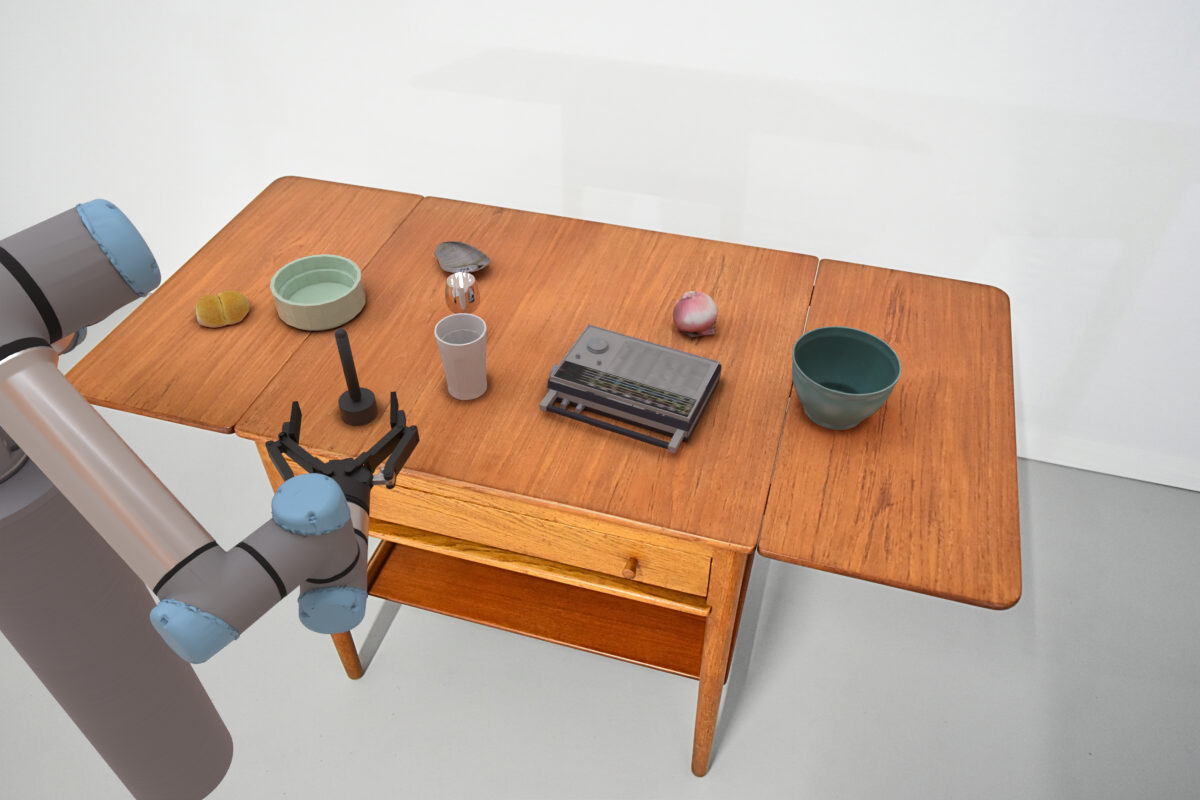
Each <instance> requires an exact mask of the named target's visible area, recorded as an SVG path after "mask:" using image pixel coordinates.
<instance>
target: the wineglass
mask: <svg viewBox="0 0 1200 800" xmlns="http://www.w3.org/2000/svg"><path fill="white" fill-rule="evenodd" d="M444 299H445V304H446V306H447V308H448V309H449V311H450V312H452V313H453V314H458V313H468V314H473V313H474V312H475V311H477V310H478V308H479V306H480V303H481V293H480V289H479V285H478V283H477V280H476V277H475V276H474V275H473V274H471V273H470V272H469V273H465V272H459V273H452V274H450V275H449V276H448V277H447V279H446V282H445V288H444Z"/></svg>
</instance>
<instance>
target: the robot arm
mask: <svg viewBox="0 0 1200 800" xmlns="http://www.w3.org/2000/svg"><path fill="white" fill-rule="evenodd" d="M160 269H161V268H160V267H159V264H158V262H157V260H156V258H155V256H154V253H153V252H152V250H151V249H150V247H149V245H148V243H147V242H146V240H145V238H144V237H143V236H142V234H141V233H140V231H139V230H138V229H137V227H136V226H135V225H134V224H133V222H132V220H130V218H129V216H127V215H126V214H125V213H124V212H123V211H122V209H120V208H119V207H118V206H117V205H115V204H114V203H113V202H111V201H109V200H107V199H104V198H95V199H92V200H90V201H87V202H83V203H80V202H79V203H77V204H76V205H75V206H74V207H72V208H69V209H67V210H65V211H62V212H60V213H58V214H56V215H54V216H51V217H49V218H47V219H45V220H42V221H40V222H38V223H36V224H33V225H31V226H29V227H27V228H24V229H22V230H20V231H18V232H16V233H13V234H11V235H9V236H7V237H4V238H2V239H0V484H2V483H3V482H5V481H7V480H8V479H10V478H11V477H12V476H14V475H15V474H16V473H17V472H18V471H19V470H20V469H21V468H22V467H23V466H24V465H25V464H26V463H27V461H28V460H29V458H30V459H31V460H32V461H33V462H34V463H35V464H36V465H37V466H38V467H39V468H40V470H41V471H42V472H43V473H44V474H45V475H46V476H47V477H48V478H49V479H50V480H51V482H52V483H53V484H54V485H55V486H56V487H57V488H58V489H59V490H60V491H61V492H62V494H63V495H64V496H65V497H66V498H67V499H68V500H69V501H70V502H71V503H72V504H73V506H74V507H75V508H76V509H77V510H78V511H79V512H80V513H81V514H82V515H83V516H84V518H85V519H86V520H87V521H88V522H89V523H90V524H91V525H92V526H93V527H94V528H95V530H96V531H97V532H98V533H99V534H100V535H101V536H102V537H103V538H104V539H105V540H106V542H107V543H108V544H109V545H110V546H111V547H112V548H113V549H114V550H115V551H116V552H117V554H118V555H119V556H120V557H121V558H122V559H123V560H124V561H125V562H126V563H127V564H128V566H129V567H130V568H131V569H132V570H133V571H134V572H135V573H136V574H137V575H138V576H139V577H140V579H141V580H142V581H143V582H144V583H145V585H146V587H147V588H148V589H149V590H150V591H151V592H152V593H153V594H154V595H155V596H156V597H157V599H158V601H159V602H157V606H156V607H155V608H153V609H152V611H151V613H150V620H151V623H152V625H153V626H154V628H155V629H156V631H157V632H158V633H159V634H160V635H161V636H162V638H163V639H164V641H165V642H166V643H167V644H168V645H169V646H170V648H171V649H172V650H173V651H174V652H175V653H176V654H178V655H179V656H180V657H181V658H182V659H184V660H185V661H187V662H189V663H190V664H191V665H192V664H193V665H199V664H200V665H201V664H203V663H206V662H207V661H208V660H210V659H211V658H212V657H215V656H216V654H218V653H219V652H221V651H222V650H223V649H224V648H226V647H227V646H228V645H230V644H231V643H232V642H233V641H237V640H238V639H239V638H240V637H241V635H242V634H244V632H246V631H247V630H248V629H249V628H250V627H252V625H254V624H255V623H256V622H257V621H258V620H260V619H261V618H262V617H263V616H264V615H266V614H267V613H268V612H269V611H271V609H272V608H274V607H275V606H276V605H277V604H278V603H280V602H281V601H283V599H284V598H286V597H288V595H290V594H291V593H292V592H293V591H294V590H296V589H297V588H298V587H299V595H298V597H297V601H296V602H297V603H298V619H299V622H300V623H301V624H302V626H304V627H305V629H307V630H309V631H311V632H314V633H318V634H321V635H334V634H335V635H336V634H342V633H347V632H350V631H352V630H354V629H355V628H356V627H358V626H359V625H360V624H361V623H362V621H363V620H364V618H365V615H366V609H367V601H368V598H369V592H368V564H369V563H368V559H369V558H368V557H369V534H370V513H371V511H370V510H371V491H372V489H373V488H374V486H385V488H386V489H387V490H393V489H395V487H396V485H397V479H398V478H397V477H398V475H400V472H401V471H402V469H403V468H404V466H405V464H406V463H407V461H408V460H409V459H410V457H411V455H412V453H413V452H414V450H415V449H416V447H418V444H419V443H420V442H421V441H420V433H419V427H418V425H415V424H412V425H410V426H407V417H406V412H405V410H404V409H400V408H399V407H400V406H399V405H400V404H399V400H398V395H397V390H394V391H390V396H389V398H390V400H389V402H390V403H389V404H390V405H389V406H390V407H389V425H390V430H389V431H387V432H386V433H385V434H384V435H383V437H381V438H380V439H379V440H378V441H377V442H376V443H375V444H373V445H372V446H371V447H370V448H369V449H368V450H367V451H362V452H361V453H360V454H359V455H358V456H356V458H354V457H353V456H352V457H346V458H343V459H336V458H334V459H329V460H328V461H327V462H324V461H322V460H321V459H320V458H319V457H318V456H313V455H312V454H311V453H309V451H308V450H306V449H305V448H304V447H302V446H301V445H300V436H301V426H302V418H303V412H302V410H301V406H300V403H299V400H294V401H292V404H291V410H290V417H289V421H284V422H282V426H281V431H280V432H279V433H278V434H277V437H278V439H277V440H275V441H274V440H271V439H270V440H267V441H266V442H265V443H264V446H265V449H266V452H267V454H268V457H269V459H270V461H271V462H272V464H273V466H274V467H275V469H276V471H277V472H278V474H279V475H280V477H281V479H282V480H283V483H281V484H280V485H279V486H278V488H277V490H276V492H275V493H274V495H273V496H272V498H271V502H270V503H271V504H270V505H271V518H270V519H269V520H267V521H265V522H264V523H263V524H262V525H261V526H259V527H258V528H257V529H255V530H254V531H252V532H251V533H250V534H249V535H248V536H246V537H245V538H243V539H242V540H241V541H239V542H238V543H237V544H236V545H234V546H233V547H231V548H229V550H227V551H226V550H225V549H224V548H223V547H222V546H221V545H220V544H219V543H218V542H217V541H216V539H215V538H214V537H213V536H212V534H210V532H208V530H206V529H205V527H204V526H203V525H202V524H201V523H200V522H199V520H198V519H197V518H196V517H195V516H194V515H193V514H192V513H191V512H190V510H189V509H187V508H186V506H185V505H184V504H183V503H182V502H181V501H180V500H179V499H178V498H177V496H175V494H174V493H173V492H172V491H171V490H170V489H169V488H168V487H167V485H166V484H164V483H163V481H162V480H161V479H160V478H159V477H158V476H157V475H156V473H154V471H153V470H152V469H151V467H149V466H148V465H147V464H146V463H145V462H144V461H143V460H142V459H141V458H140V456H139V455H138V454H137V453H136V452H135V451H134V450H133V448H131V446H130V445H128V444H127V442H126V441H125V440H124V439H123V438H122V436H121V435H120V434H119V433H117V431H116V430H115V429H114V428H113V427H112V426H111V424H109V423H108V422H107V421H106V419H105V418H104V417H103V416H102V415H101V414H100V413H99V411H98V410H96V408H94V406H93V405H92V404H91V403H90V402H89V401H88V400H87V399H86V397H84V395H83V394H82V393H81V392H80V391H79V390H78V389H77V388H76V387H75V386H74V385H73V383H72V382H71V381H70V380H69V379H68V378H67V377H66V376H65V375H64V374H63V372H62V371H61V370H60V369H59V368H58V367H59V366H58V365H59V361H60V356H62V355H66V354H68V353H70V352H72V351H74V350H75V349H76V347H78V346H79V345H82V343H84V341H85V340H86V339H87V336H88V327H91V326H94V325H97V324H99V323H101V322H102V321H104V320H106V319H108V318H109V317H110V316H111V315H113V314H114V313H115V312H117V311H118V310H120V309H122V308H124V307H125V306H127V305H129V304H131V303H132V302H135V301H136V300H138V299H141V298H147V296H148V295H149V294H150V293H151V292H153V291H155V290H156V289H158V287H160V285H161V283H162V273H161V270H160ZM283 454H285V455H286V456H287V457H288V458H290V460H292V461H293V462H294V463H295V464H296V465H298V466H299V467H301V468H302V469H303V470H304V471H306V472H307V473H302V474H298V475H295V474H294V471H293V469H292V468H291V466H290V465H289V463H288V462H287V460H286V458H285V456H284V455H283ZM385 460H386V462H385V464H384V466H381V467H380V470H379V471H378V472H377V474H374V473H375V472H376V469H377V468H378V467H379V466H380V465H381V464H382V463H383V462H384V461H385Z"/></svg>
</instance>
